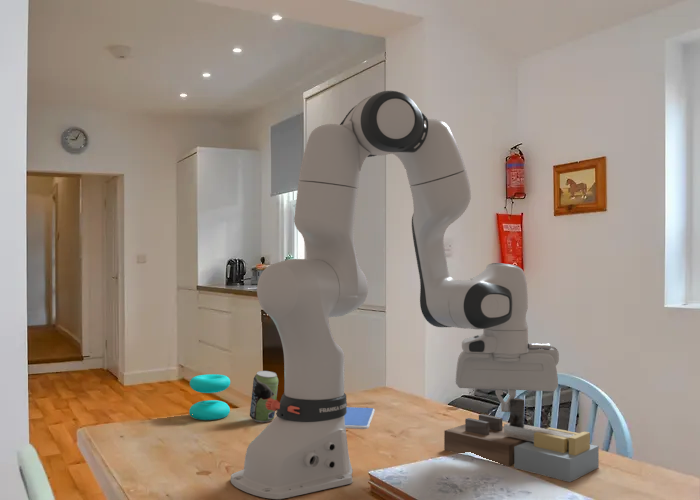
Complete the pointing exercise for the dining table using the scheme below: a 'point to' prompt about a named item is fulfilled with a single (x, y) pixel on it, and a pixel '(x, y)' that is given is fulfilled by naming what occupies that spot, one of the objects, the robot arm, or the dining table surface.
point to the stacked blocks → (558, 455)
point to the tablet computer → (358, 417)
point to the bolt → (525, 431)
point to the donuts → (209, 407)
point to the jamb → (482, 439)
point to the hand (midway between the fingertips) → (505, 411)
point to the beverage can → (263, 395)
